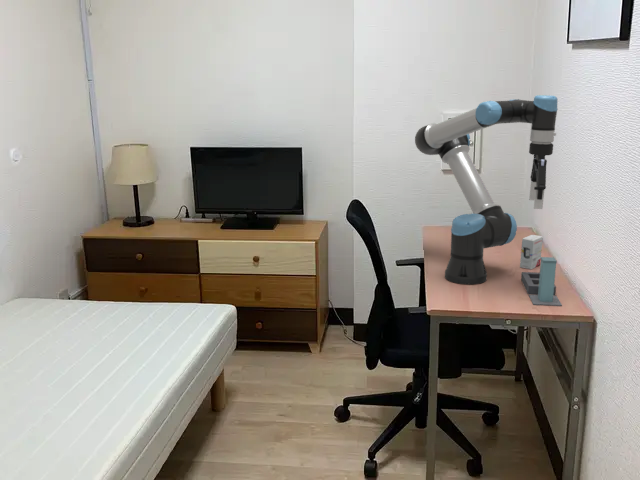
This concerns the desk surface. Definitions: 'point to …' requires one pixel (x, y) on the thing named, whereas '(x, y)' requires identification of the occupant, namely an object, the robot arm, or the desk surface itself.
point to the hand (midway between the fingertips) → (535, 204)
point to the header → (532, 282)
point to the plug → (547, 279)
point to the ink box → (531, 251)
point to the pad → (536, 302)
